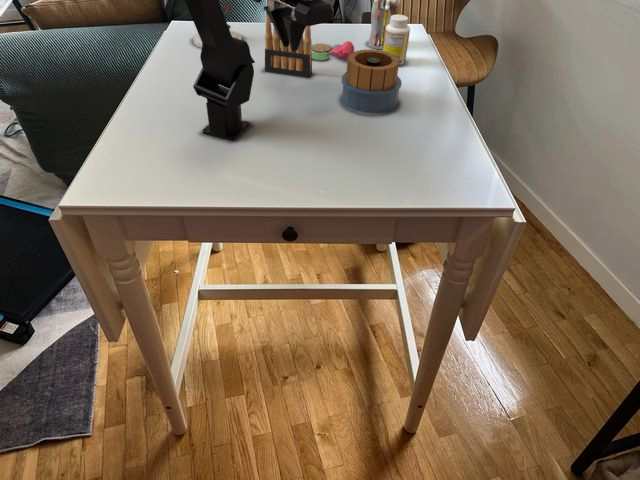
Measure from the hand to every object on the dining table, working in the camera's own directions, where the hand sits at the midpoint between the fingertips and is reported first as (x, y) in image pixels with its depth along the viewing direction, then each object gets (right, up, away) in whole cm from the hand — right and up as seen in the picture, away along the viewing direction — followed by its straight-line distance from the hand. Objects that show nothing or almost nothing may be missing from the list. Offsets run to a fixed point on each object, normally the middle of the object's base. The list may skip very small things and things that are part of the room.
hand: (290, 48), depth 95 cm
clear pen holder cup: (+21, +12, +30) cm, 38 cm away
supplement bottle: (+23, +5, +22) cm, 32 cm away
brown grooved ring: (+16, -5, +2) cm, 17 cm away
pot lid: (+16, -6, +2) cm, 17 cm away
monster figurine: (-20, +13, +28) cm, 37 cm away
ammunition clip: (-1, 0, +15) cm, 15 cm away
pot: (+16, -9, +5) cm, 19 cm away
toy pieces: (+9, +8, +24) cm, 27 cm away
